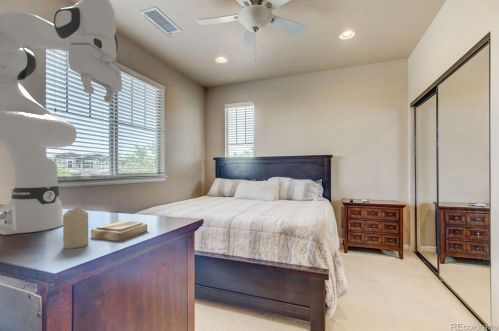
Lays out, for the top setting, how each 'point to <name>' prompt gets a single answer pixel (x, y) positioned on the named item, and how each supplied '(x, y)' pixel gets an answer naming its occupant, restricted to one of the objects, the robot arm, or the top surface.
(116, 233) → the stand
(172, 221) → the top surface
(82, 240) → the candle
